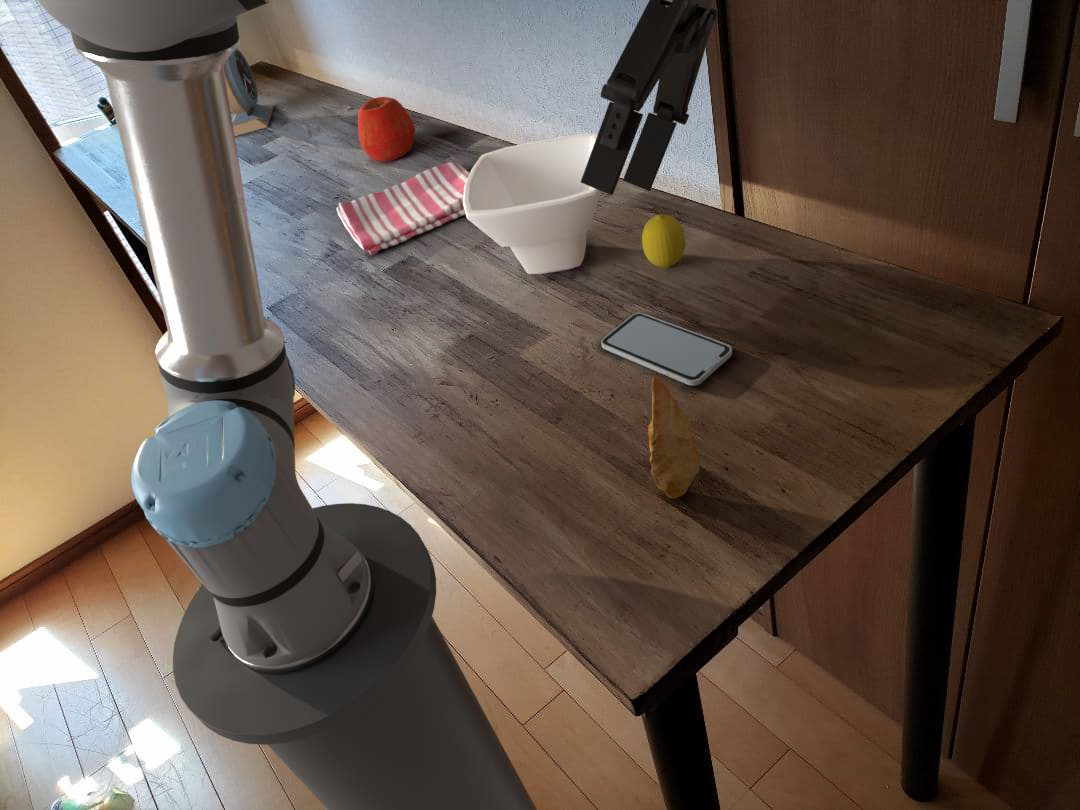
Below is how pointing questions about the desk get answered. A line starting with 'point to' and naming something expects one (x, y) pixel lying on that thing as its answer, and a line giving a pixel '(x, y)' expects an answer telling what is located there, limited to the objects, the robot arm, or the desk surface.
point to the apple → (385, 129)
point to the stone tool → (671, 444)
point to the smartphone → (667, 348)
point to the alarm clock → (244, 96)
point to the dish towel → (406, 208)
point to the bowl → (535, 200)
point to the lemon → (663, 240)
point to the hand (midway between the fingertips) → (617, 187)
